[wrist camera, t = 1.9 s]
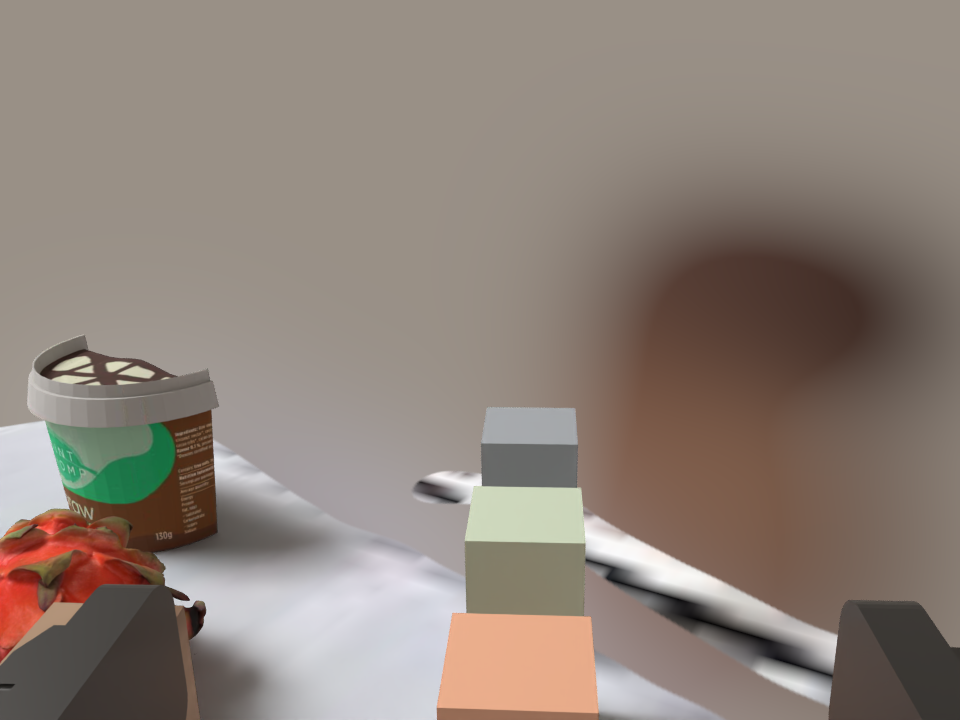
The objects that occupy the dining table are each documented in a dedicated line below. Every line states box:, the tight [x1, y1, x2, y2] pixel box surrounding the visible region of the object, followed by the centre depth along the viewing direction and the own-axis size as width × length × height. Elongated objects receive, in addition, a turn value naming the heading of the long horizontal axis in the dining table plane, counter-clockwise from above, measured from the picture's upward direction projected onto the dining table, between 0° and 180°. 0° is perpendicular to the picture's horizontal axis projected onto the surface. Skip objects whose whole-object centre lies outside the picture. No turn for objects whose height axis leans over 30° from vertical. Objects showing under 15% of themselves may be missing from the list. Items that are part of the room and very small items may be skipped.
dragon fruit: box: [0, 509, 206, 662], centre depth 37 cm, size 8×8×12 cm
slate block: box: [481, 407, 578, 488], centre depth 41 cm, size 4×4×10 cm
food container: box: [27, 335, 219, 552], centre depth 49 cm, size 12×6×10 cm, turn 55°
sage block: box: [465, 486, 585, 616], centre depth 33 cm, size 4×4×10 cm
